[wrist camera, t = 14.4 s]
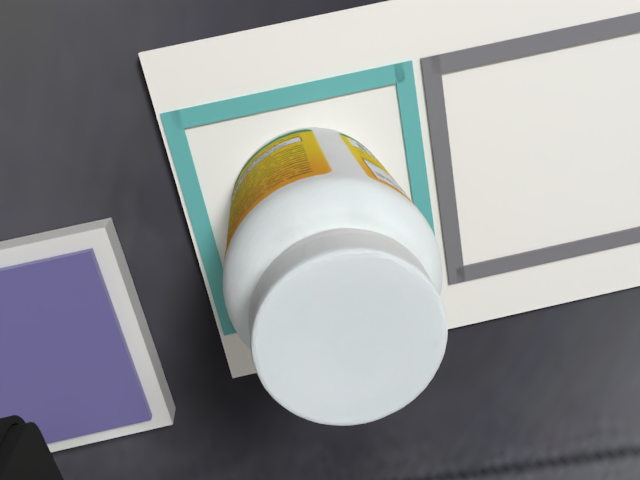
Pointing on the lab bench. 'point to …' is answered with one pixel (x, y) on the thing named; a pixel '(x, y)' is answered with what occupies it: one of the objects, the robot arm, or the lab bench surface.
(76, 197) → the lab bench surface
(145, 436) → the lab bench surface
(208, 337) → the lab bench surface
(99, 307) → the ink pad
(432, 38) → the print sheet
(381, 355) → the supplement bottle
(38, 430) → the robot arm
